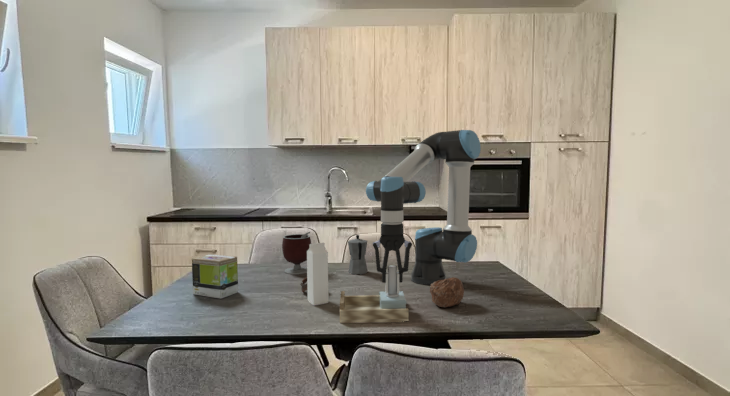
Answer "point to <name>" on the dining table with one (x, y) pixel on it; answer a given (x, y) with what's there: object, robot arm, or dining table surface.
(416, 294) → the dining table surface
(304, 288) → the pottery mug
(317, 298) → the milk
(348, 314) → the tray
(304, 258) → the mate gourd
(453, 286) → the decorative rock
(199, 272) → the tea box
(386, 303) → the cylinder on square plate
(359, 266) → the coffeepot
